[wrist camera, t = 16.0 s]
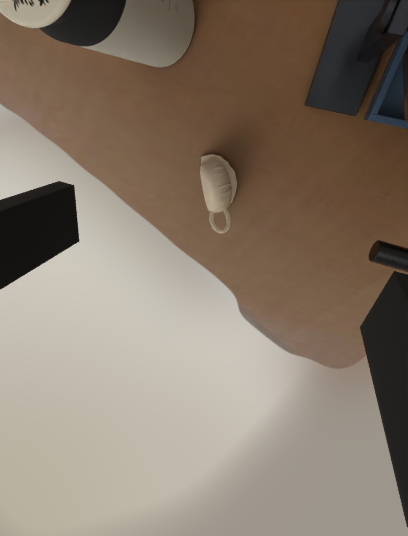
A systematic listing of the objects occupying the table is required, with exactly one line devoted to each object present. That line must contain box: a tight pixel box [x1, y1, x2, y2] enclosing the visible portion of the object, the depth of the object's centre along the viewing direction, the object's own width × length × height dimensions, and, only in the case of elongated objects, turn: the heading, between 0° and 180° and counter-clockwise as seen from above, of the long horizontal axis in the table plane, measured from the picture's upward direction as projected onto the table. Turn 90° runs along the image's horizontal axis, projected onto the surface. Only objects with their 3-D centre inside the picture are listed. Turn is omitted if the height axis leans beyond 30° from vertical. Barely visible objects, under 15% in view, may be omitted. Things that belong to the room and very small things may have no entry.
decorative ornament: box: [200, 154, 237, 233], centre depth 34 cm, size 4×8×5 cm, turn 10°
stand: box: [305, 0, 408, 116], centre depth 21 cm, size 11×5×12 cm, turn 169°
